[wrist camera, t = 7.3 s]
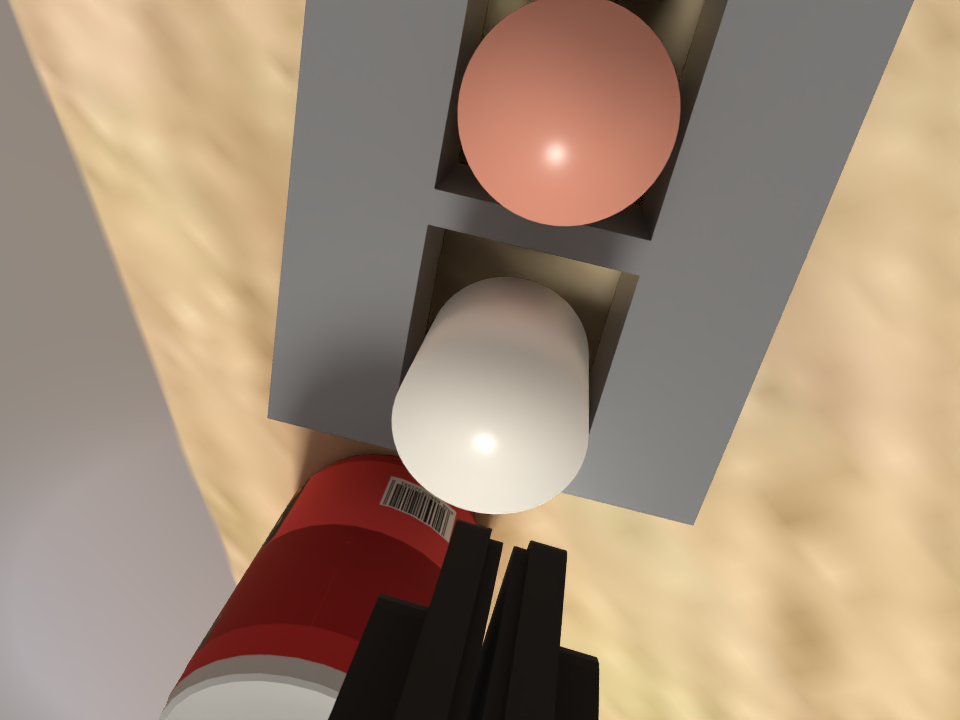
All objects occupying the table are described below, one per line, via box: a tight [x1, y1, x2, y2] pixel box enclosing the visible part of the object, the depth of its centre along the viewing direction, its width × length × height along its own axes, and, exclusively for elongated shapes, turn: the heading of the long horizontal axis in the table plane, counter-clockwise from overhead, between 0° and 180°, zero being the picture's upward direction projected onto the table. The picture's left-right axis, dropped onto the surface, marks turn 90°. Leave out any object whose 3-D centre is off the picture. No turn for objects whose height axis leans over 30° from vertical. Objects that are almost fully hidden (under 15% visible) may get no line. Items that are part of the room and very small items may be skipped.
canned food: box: [159, 455, 476, 720], centre depth 25 cm, size 8×8×11 cm
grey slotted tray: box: [267, 0, 914, 525], centre depth 20 cm, size 14×23×4 cm, turn 168°
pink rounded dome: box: [458, 0, 680, 226], centre depth 17 cm, size 5×5×4 cm
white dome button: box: [392, 277, 589, 514], centre depth 19 cm, size 5×5×4 cm
